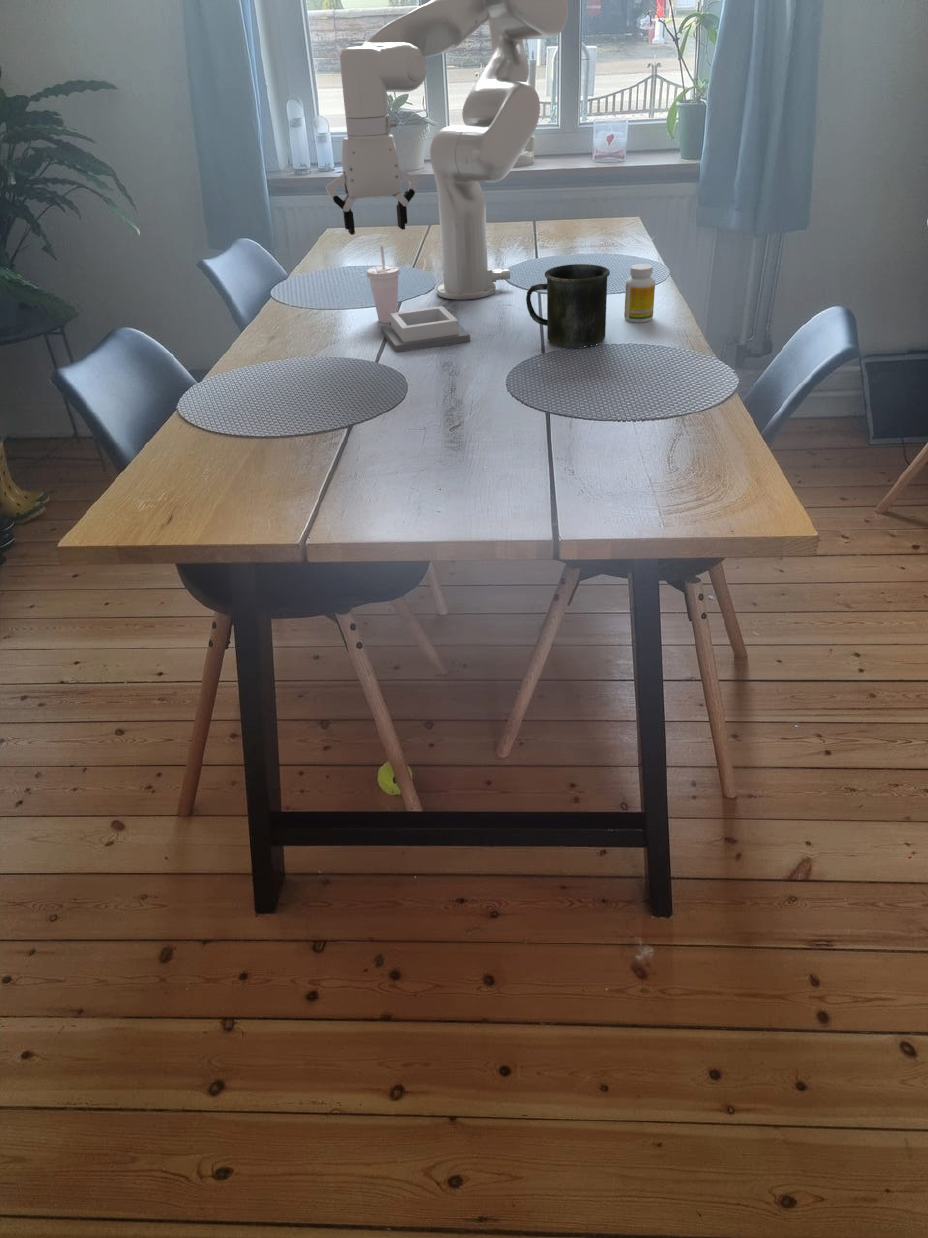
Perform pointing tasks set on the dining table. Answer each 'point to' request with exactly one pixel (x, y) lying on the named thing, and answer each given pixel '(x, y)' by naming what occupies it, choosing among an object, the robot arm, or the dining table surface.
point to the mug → (574, 305)
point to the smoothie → (384, 289)
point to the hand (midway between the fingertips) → (376, 230)
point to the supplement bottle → (639, 294)
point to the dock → (423, 329)
